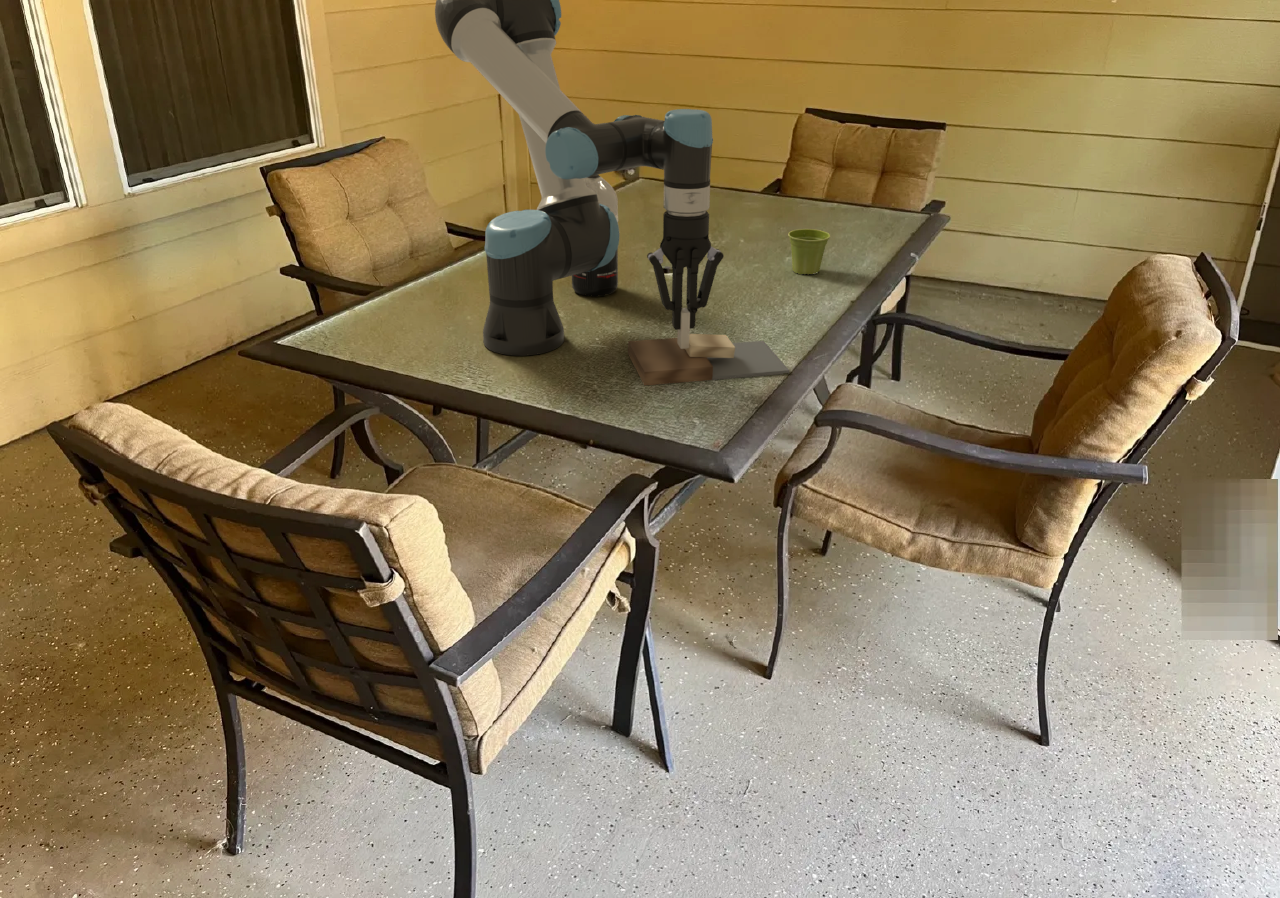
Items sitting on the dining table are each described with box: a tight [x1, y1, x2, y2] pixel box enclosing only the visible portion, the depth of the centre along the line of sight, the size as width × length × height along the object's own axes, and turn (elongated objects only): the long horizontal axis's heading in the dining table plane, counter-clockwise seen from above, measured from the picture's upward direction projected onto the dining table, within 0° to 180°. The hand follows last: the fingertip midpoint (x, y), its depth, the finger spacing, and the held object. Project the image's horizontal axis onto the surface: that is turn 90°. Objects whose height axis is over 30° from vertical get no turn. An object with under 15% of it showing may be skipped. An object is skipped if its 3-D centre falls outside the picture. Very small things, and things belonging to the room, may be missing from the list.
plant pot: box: [787, 228, 831, 275], centre depth 208 cm, size 9×9×9 cm
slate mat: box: [707, 340, 790, 381], centre depth 164 cm, size 14×14×1 cm
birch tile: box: [685, 333, 735, 358], centre depth 161 cm, size 8×6×2 cm
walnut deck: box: [627, 337, 713, 386], centre depth 161 cm, size 12×14×2 cm
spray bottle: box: [571, 174, 619, 297], centre depth 191 cm, size 10×10×25 cm
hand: (683, 345), depth 160 cm, fingers closed
